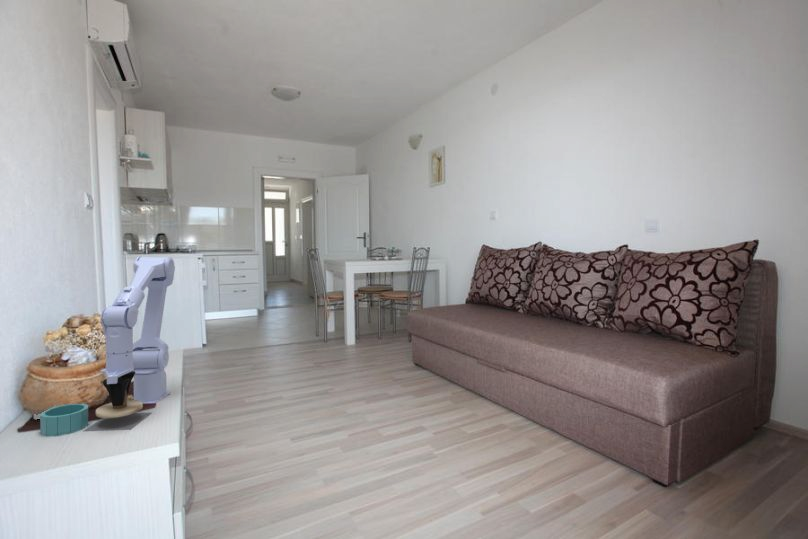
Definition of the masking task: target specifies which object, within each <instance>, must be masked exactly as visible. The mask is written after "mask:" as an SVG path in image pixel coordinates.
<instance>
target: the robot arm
mask: <svg viewBox="0 0 808 539" xmlns="http://www.w3.org/2000/svg"><path fill="white" fill-rule="evenodd" d="M175 271H176V266H175V262H174V260H173V258H172V257H171V256H162V257H161V256H159V257H157V256H142V255H141V256H137V257H136V258H135V259H134V261H133V272H134V274H133V277H132V279H131V281H130V283H129V285H128V286H125V287H123V288H122V289H121V290H120V293H119V294H118V296H117V297H116V298H115V300H114V302H113V303H112V304H111V305H108V307H105V308H104V309H103V310H102V311H101V315H100V319H99V320H100V325H101V328H102V331H103V332H102V333H103V335H104V336H105V368H102V369H100V371H99V372H100V374H105V375H106V378H105V379H104V380H102V384H103V386H104V387H105V389H106V391H107V393H108V396H109V397H110V403H112V405H113V407H114V406H122V405H123V403H124V399H125V392H126V390H127V398H128V397H129V391H130V388H131V384H132V382H133V399H134V400H139V401H142V403H143V404H149V405H150V404H157V403H159V401H161V400H162V399H164V398H165V397H166V396H168V395H170V392H169V391H167V372H166V371H165V369H166V367H168V364H169V358H170V356H169V345H168V344H167V343H166V342H165V341H163V340H162V339H161V330H162V323H163V315H164V309H165V301H166V294H167V289H168V287H170V286H172V285H173V281H174V279H175V278H174V276H175ZM146 288H147V296H146V294H145V290H146ZM145 296H146V303H145V309H144V316H143V322H142V330H141V335H140V338H139V339H137V340H136V341H135V342H134V339H133V338H134V330H133V329H134V327H135V326H136V325H137V321H138V317H139V309H140V306H141V305H142V303H143V301H144V299H145Z"/></svg>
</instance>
